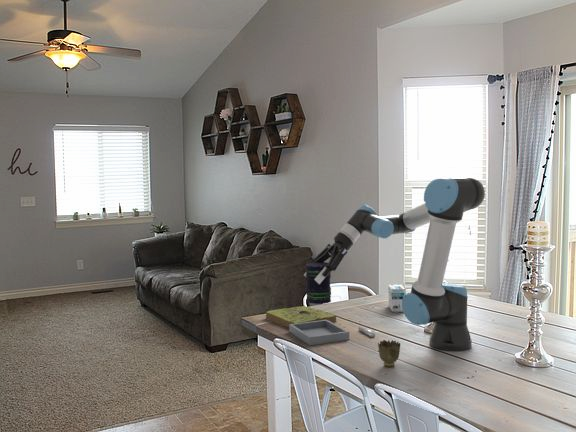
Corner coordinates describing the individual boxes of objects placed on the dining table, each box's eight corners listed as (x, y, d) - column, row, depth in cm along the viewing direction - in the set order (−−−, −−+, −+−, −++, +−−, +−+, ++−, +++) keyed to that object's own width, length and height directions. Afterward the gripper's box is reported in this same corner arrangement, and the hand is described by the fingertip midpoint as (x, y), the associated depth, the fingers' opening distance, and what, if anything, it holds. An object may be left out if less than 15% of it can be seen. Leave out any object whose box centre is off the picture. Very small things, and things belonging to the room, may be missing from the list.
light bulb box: (406, 312, 269) (406, 288, 268) (391, 312, 269) (391, 289, 268) (402, 306, 279) (402, 284, 278) (388, 306, 279) (387, 284, 278)
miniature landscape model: (305, 312, 273) (305, 301, 272) (336, 323, 253) (336, 311, 253) (265, 319, 261) (265, 308, 260) (295, 331, 241) (295, 319, 241)
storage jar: (330, 298, 238) (329, 261, 237) (332, 303, 228) (332, 265, 227) (305, 298, 238) (305, 262, 236) (307, 304, 228) (306, 266, 227)
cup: (385, 360, 202) (385, 338, 202) (404, 365, 198) (404, 342, 197) (374, 366, 197) (373, 343, 196) (393, 371, 192) (393, 347, 191)
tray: (349, 339, 227) (349, 331, 227) (309, 345, 221) (309, 337, 221) (326, 326, 246) (326, 319, 246) (289, 331, 239) (289, 324, 239)
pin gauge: (370, 337, 230) (374, 337, 231) (371, 332, 230) (375, 332, 231) (358, 331, 239) (362, 331, 240) (358, 326, 239) (363, 326, 240)
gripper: (366, 246, 226) (329, 290, 222) (340, 240, 247) (306, 280, 242) (353, 234, 224) (316, 278, 219) (328, 228, 245) (294, 269, 240)
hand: (311, 279), depth 231 cm, fingers closed on storage jar, 10 cm apart
